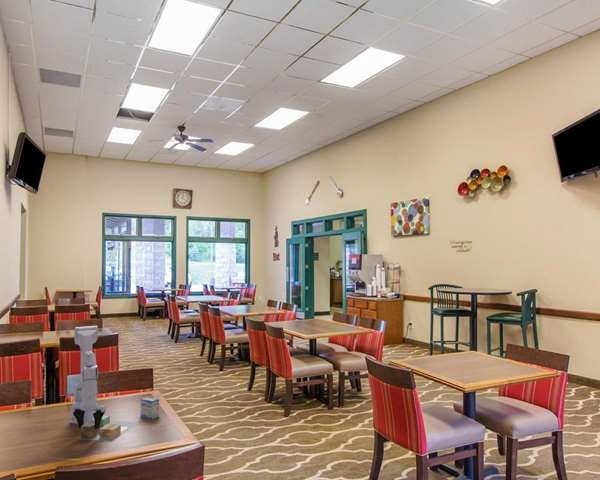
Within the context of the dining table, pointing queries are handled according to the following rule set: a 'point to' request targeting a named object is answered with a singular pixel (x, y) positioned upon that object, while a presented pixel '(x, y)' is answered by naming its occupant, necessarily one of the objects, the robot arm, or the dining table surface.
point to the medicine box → (149, 408)
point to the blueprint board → (124, 427)
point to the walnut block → (88, 430)
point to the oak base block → (110, 430)
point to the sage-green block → (104, 421)
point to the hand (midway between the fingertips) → (89, 427)
